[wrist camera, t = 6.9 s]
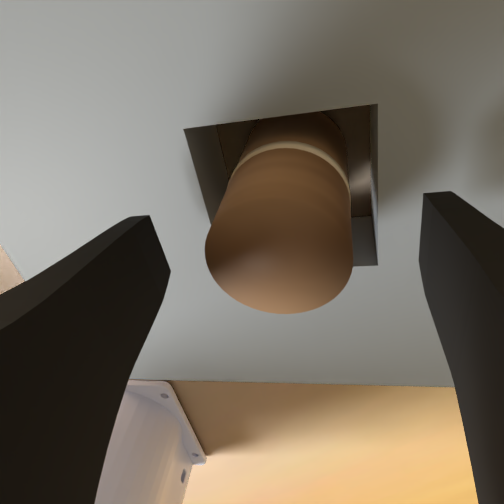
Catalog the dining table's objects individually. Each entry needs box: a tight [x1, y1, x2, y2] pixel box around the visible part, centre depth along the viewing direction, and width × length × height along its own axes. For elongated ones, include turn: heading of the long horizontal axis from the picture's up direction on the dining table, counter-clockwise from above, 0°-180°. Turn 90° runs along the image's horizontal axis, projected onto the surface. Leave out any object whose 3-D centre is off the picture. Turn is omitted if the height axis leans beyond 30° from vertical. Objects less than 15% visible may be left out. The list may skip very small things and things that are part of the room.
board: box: [0, 0, 504, 387], centre depth 13 cm, size 18×22×3 cm
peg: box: [205, 111, 353, 314], centre depth 12 cm, size 4×4×6 cm
